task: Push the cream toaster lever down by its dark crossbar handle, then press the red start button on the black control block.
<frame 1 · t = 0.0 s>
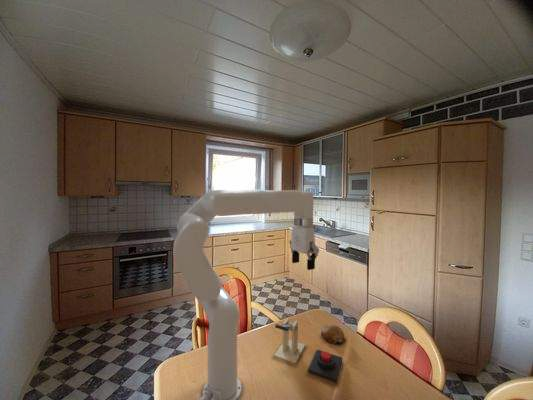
hand: (302, 265, 90), 37 cm above the table, tool pointing down, fingers open, 9 cm apart
toaster lever: (286, 327, 90), point 13 cm above the table, hinge at 25.0°
start button: (325, 357, 86), point 4 cm above the table, slide at 0.1 cm
control block: (325, 368, 86), on the table
toaster bracket: (290, 352, 94), on the table
bread roll: (332, 340, 103), on the table
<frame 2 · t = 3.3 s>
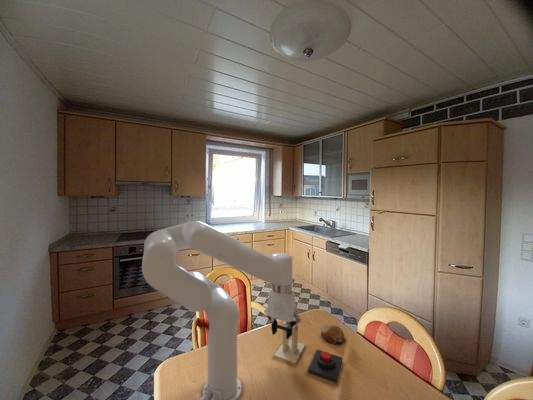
hand: (281, 334, 86), 13 cm above the table, tool pointing down, fingers closed on toaster lever, 5 cm apart
toaster lever: (286, 327, 90), point 13 cm above the table, hinge at 25.0°, touching gripper
everything else where it was.
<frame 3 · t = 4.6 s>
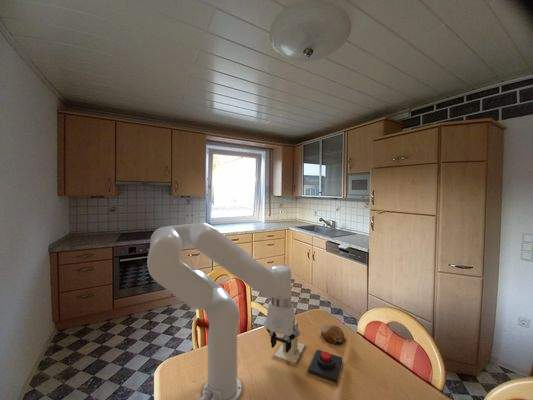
hand: (280, 347, 86), 8 cm above the table, tool pointing down, fingers closed on toaster lever, 5 cm apart
toaster lever: (286, 332, 90), point 11 cm above the table, hinge at 0.3°, touching gripper
everything else where it was.
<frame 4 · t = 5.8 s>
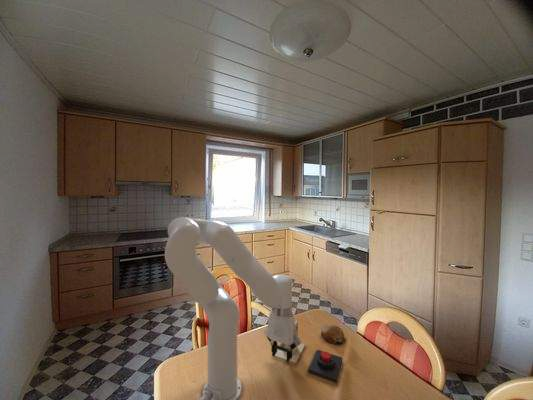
hand: (281, 356, 86), 4 cm above the table, tool pointing down, fingers open, 5 cm apart
toaster lever: (286, 336, 90), point 9 cm above the table, hinge at -20.6°
everything else where it was.
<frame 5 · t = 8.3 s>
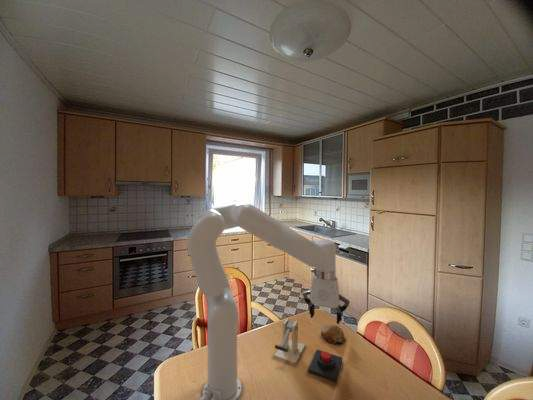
hand: (325, 319, 86), 19 cm above the table, tool pointing down, fingers open, 9 cm apart
nothing on the table moved.
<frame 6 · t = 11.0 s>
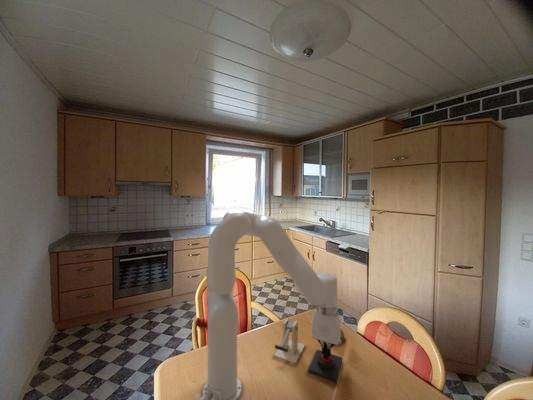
hand: (326, 356, 86), 5 cm above the table, tool pointing down, fingers closed
start button: (325, 359, 86), point 4 cm above the table, slide at -0.6 cm, touching gripper
everything else where it was.
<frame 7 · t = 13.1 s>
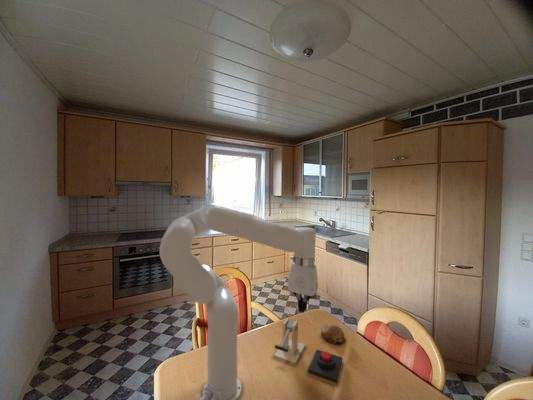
hand: (302, 310, 84), 23 cm above the table, tool pointing down, fingers closed
start button: (325, 357, 86), point 4 cm above the table, slide at 0.1 cm
everything else where it was.
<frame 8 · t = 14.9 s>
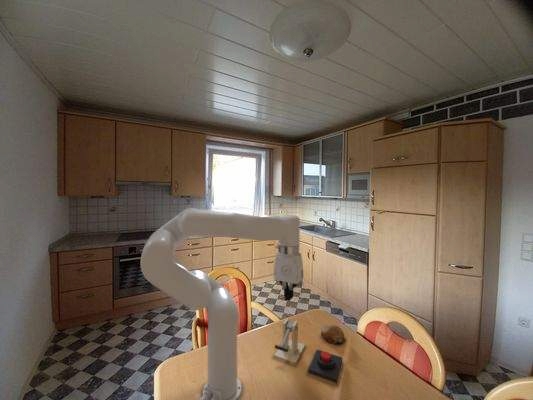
hand: (288, 299, 84), 27 cm above the table, tool pointing down, fingers closed
nothing on the table moved.
at the end: toaster lever at -21° (first picture: +25°); start button pushed in 1.1 cm at the most during the clip and back out by the end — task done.
